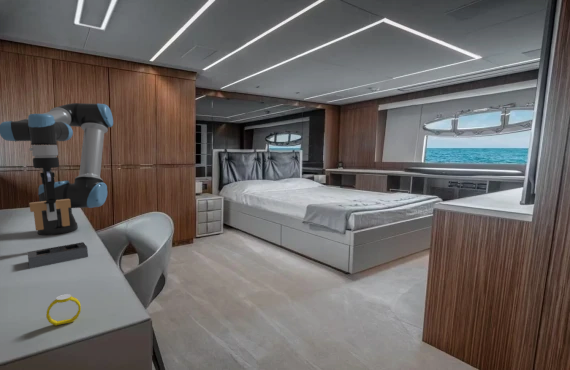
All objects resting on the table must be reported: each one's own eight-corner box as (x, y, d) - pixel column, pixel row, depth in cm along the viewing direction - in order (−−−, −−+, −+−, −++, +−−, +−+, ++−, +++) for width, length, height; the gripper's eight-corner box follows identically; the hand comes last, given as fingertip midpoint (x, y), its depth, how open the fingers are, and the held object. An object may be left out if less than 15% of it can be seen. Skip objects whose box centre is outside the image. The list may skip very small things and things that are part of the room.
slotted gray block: (29, 268, 98) (28, 258, 97) (28, 261, 104) (27, 251, 103) (88, 256, 108) (87, 247, 108) (84, 251, 114) (83, 242, 114)
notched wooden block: (32, 230, 111) (29, 203, 109) (32, 229, 113) (29, 202, 111) (72, 225, 118) (70, 199, 117) (71, 223, 121) (69, 198, 119)
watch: (47, 330, 64) (44, 303, 63) (48, 324, 66) (45, 297, 66) (81, 321, 67) (79, 295, 66) (81, 315, 69) (79, 290, 69)
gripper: (31, 156, 116) (38, 217, 119) (33, 157, 104) (41, 225, 107) (55, 156, 121) (61, 214, 124) (60, 157, 109) (67, 221, 112)
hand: (52, 219), depth 115 cm, fingers closed on notched wooden block, 3 cm apart
